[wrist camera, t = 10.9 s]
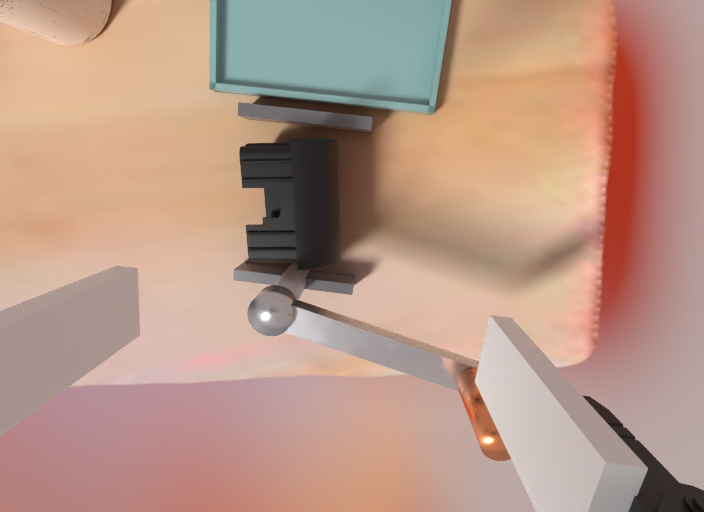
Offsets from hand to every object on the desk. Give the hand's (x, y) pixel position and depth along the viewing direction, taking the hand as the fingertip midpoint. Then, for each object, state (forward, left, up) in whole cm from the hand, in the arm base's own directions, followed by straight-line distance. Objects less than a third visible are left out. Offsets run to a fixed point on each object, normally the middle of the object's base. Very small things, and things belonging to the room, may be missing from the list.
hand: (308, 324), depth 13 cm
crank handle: (+3, -7, -13) cm, 15 cm away
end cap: (-4, +2, -21) cm, 22 cm away
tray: (-3, +18, -21) cm, 28 cm away
